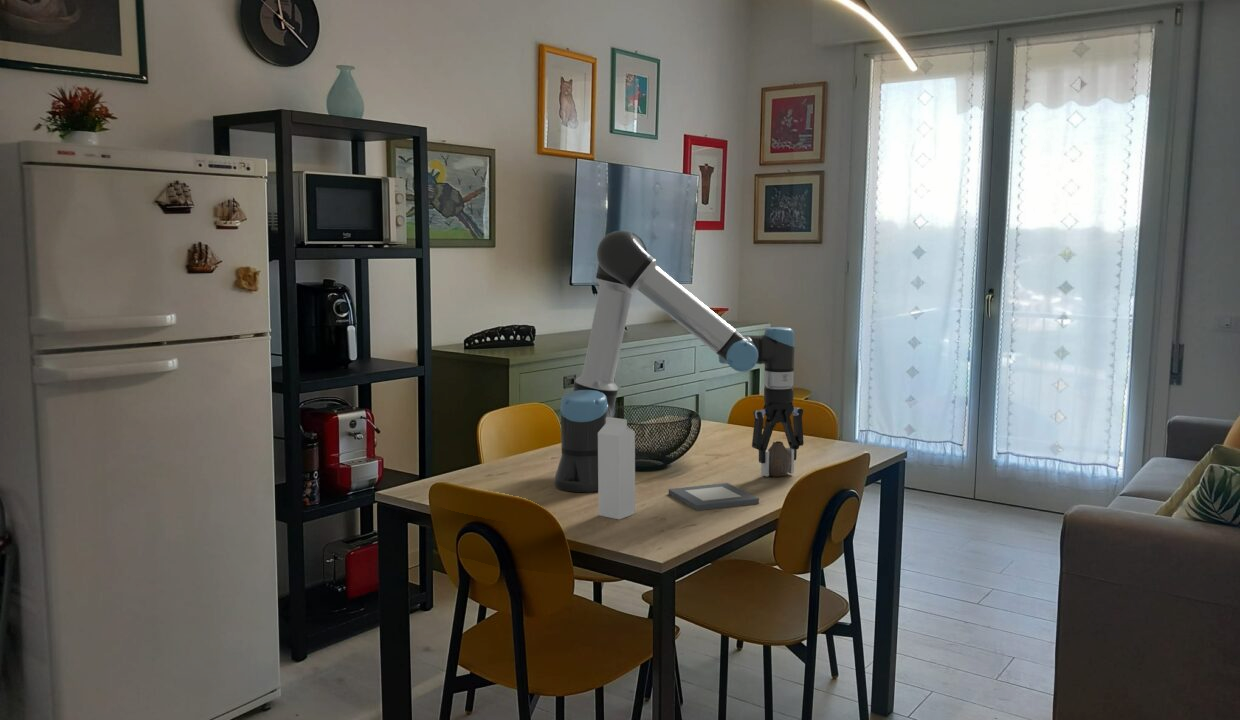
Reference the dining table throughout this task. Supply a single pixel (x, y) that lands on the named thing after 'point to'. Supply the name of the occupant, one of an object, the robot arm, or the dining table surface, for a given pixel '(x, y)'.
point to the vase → (778, 459)
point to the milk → (616, 469)
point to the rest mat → (713, 496)
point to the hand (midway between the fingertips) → (777, 473)
